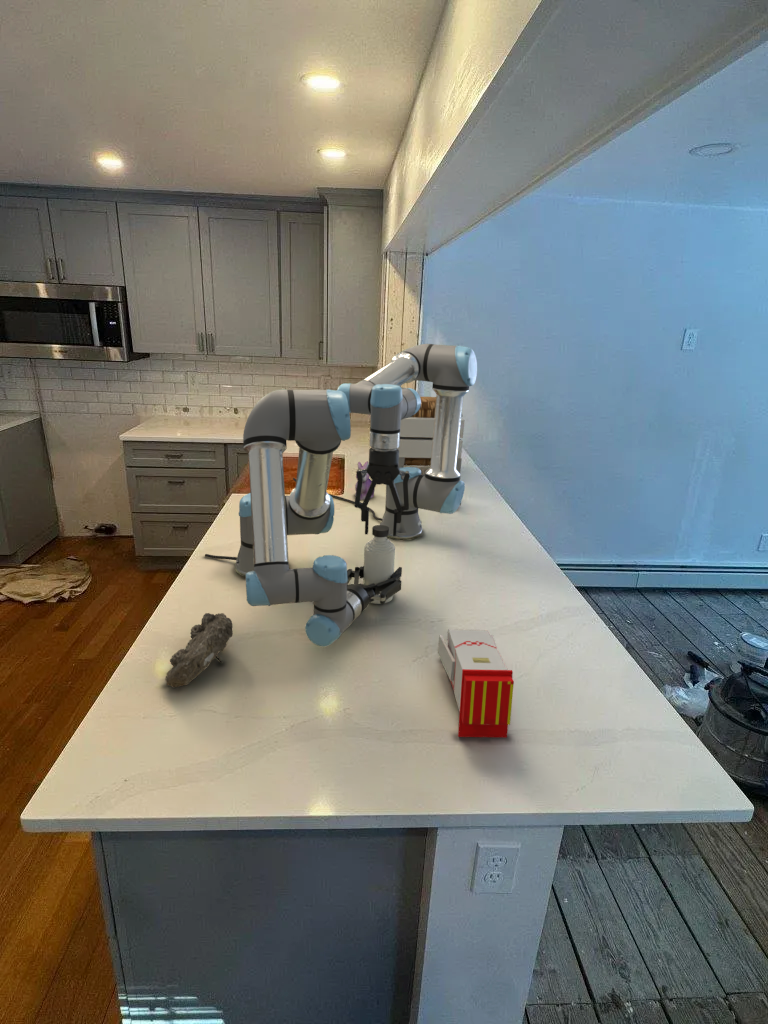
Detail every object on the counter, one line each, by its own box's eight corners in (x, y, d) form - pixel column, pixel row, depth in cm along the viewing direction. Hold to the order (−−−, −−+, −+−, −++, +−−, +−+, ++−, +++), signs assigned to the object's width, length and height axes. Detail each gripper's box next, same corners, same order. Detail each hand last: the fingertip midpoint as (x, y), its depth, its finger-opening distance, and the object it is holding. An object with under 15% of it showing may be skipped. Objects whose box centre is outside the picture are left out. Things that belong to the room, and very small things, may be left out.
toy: (488, 613, 130) (523, 677, 101) (484, 667, 133) (517, 744, 104) (435, 612, 130) (455, 676, 101) (432, 666, 133) (451, 743, 103)
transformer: (382, 463, 289) (386, 382, 275) (445, 464, 293) (451, 384, 279) (390, 482, 257) (394, 392, 243) (460, 483, 261) (468, 394, 247)
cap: (373, 530, 152) (373, 524, 151) (389, 531, 152) (390, 525, 151) (371, 536, 148) (371, 530, 147) (387, 538, 147) (388, 531, 147)
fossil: (188, 616, 134) (233, 586, 129) (216, 643, 137) (261, 615, 132) (144, 681, 114) (195, 649, 109) (178, 711, 117) (230, 682, 112)
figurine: (359, 501, 230) (360, 466, 225) (349, 494, 239) (349, 459, 234) (379, 499, 235) (381, 464, 230) (369, 491, 243) (370, 458, 238)
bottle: (369, 587, 161) (371, 523, 154) (396, 593, 158) (400, 527, 152) (358, 600, 154) (360, 533, 147) (386, 606, 151) (390, 538, 144)
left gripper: (311, 607, 143) (351, 572, 163) (388, 627, 136) (420, 588, 155) (311, 580, 141) (351, 548, 160) (389, 599, 133) (422, 563, 153)
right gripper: (343, 449, 138) (342, 536, 146) (424, 453, 138) (418, 540, 146) (346, 442, 145) (344, 526, 153) (423, 446, 145) (417, 530, 153)
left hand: (385, 568), depth 158 cm, fingers closed on bottle, 8 cm apart
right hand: (380, 533), depth 150 cm, fingers open, 7 cm apart
